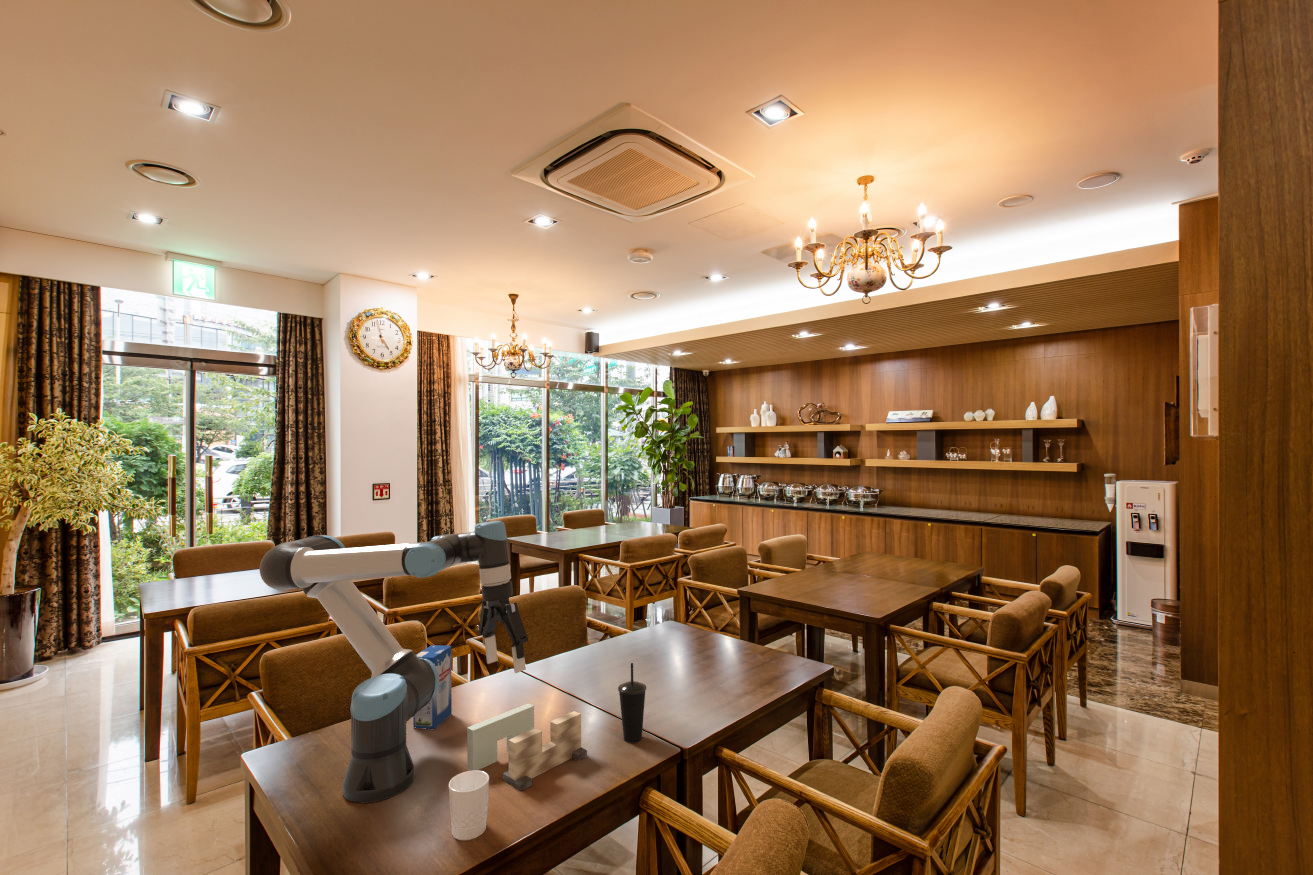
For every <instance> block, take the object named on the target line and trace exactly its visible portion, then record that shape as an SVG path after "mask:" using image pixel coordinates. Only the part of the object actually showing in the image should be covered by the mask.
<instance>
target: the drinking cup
mask: <svg viewBox="0 0 1313 875" xmlns="http://www.w3.org/2000/svg"><path fill="white" fill-rule="evenodd" d="M617 691H618V694H619V702H620V704H619V705H620V713H621V724H622V726H621V727H622V734H623V740H624V742H626V743H629V744H636V743H638V742H641V741H642V739H643V729H644V728H643V726H644V712H645V700H646V691H647V685H646V684H644V683H643V682H639V681H634V662H631V663H630V681H629V680H628V681H626V682H623V683H621V684H619V685H618V687H617Z"/></svg>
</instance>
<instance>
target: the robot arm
mask: <svg viewBox="0 0 1313 875" xmlns="http://www.w3.org/2000/svg"><path fill="white" fill-rule="evenodd" d="M471 562H478V569H479V570H478V571H479V579H480V584H481V596H482V600H481V611H480V619H479V624H478V625H479V627H478V634H479V635H482V638H484V649H485V656H486V664H488V665H489V664H492V663H495V662H497V661H498V660H499V659H498V648H497V641H496V633H495V629H496V626H497V623H498V621H499V622H500V624H502V625H503V626H504V628H505V630H506V633H507V634H508V637H509V638H510V641H511V643H512V644H511V646H510V647H511V653H512V654H511V655H512V661H513V662H512V663H513V670H514V671H513V672H514V673H515V674H517V673H520V672H522V671H526V669H527V668H526V659H525V648H524V644H525V643H527V642H529V637H528V635H527V632H526V629H525V625H524V624H523V620H522V618H521V615H520V612H519V609H518V608H519V607H518V603H517V602H513V603H511V602H510V597H512V596H513V595H514V591H513V590H514V588H513V582H512V581H511V579H512V572H511V565H510V556H509V546H508V535H507V530H506V524H505V523H504V522H503V521H502V520H491V521H484V522H483V521H482V522H480V523H479V522H478V523H476V524H475V525H474V530H473V531H469V532H459V533H452V534H451V533H449V534H448V533H445V534H442V535H436V536H433V537H431V539H430V541H423V542H420V541H419V542H413V543H412V542H411V543H409V542H408V543H398V544H397V543H396V544H385V545H384V544H382V545H371V546H370V545H369V546H360V547H359V546H357V547H346V546H345V545H344V544H343V543H342V542H341V540H340V539H338V538H336V537H334V536H332V535H331V536H330V535H325V534H324V535H322V534H321V535H312V536H307V537H305V538H301V539H298V540H293V541H286V542H282V543H279V544H277V545H275V546H273V547H271V548H270V549H268V551H266V553H265V554H263V556H262V559H261V561H260V564H259V574H260V575H259V576H260V577H261V580H262V582H263V583H265V585H266V586H268V587H269V588H271V589H274V590H277V591H289V590H296V589H301V590H302V592H303V593H304V594H305V596H306V597H307V598H314V599H317V600H318V602H319V603H320V605H322V607H323V608H324V609H325V611H326V612H327V614H328V615H329V616H330V618H331V620H333V622H334V623H335V624H336V626H337V627H338V629H340V631H341V633H342V634H343V635H344V636H345V638H346V639H347V640H348V642H349V643H350V644H351V645H352V648H353V649H354V650H355V652H357V654H358V655H359V657H360V658H361V659H362V661H363V662H364V663H365V665H366V666H367V668H368V669H369V670H370V672H371V677H370V678H367V679H365V680H364V681H362V682H360V683H359V684H358V685H357V686H356V687H355V689H354V690H353V691H352V695H351V703H350V710H349V711H350V726H351V727H350V730H351V732H350V738H351V739H350V742H351V743H350V744H351V746H350V747H351V748H350V750H351V756H350V760H349V761H348V762H349V763H348V764H347V768H346V771H345V774H344V778H343V782H342V796H343V795H344V796H343V797H344V799H346V798H347V799H348V800H347V799H346V800H347V801H349V800H350V801H349V802H352V801H354V802H353V803H357V802H364V804H367V802H368V803H374V802H379V801H383V800H386V799H389V798H392V797H394V796H397V795H398V794H400V793H402V792H403V791H405V790H406V789H408V788H409V787H410V785H411V784H413V782H414V780H415V766H414V765H415V764H414V762H413V759H412V757H411V754H410V751H409V748H408V745H407V723H408V722H409V721H410V720H411V718H412V719H413V716H414V715H415V714H416V713H417V712H418V711H420V710H421V709H422V708H423V707H425V706H426V705H427V704H428V703H429V702H430V701H431V699H432V698H433V697H434V695H435V694H436V692H437V690H438V686H439V673H438V670H437V668H436V666H435V665H434V664H433V663H432V662H431V661H430V660H428V659H423V658H418V657H417V656H416V655H417V654H415V652H414V651H413V649H406V648H403V647H402V646H401V645H400V643H399V642H398V640H397V639H396V638H395V636H394V635H393V634H392V633H391V631H390V630H389V628H388V627H387V626H386V624H385V623H384V622H383V620H382V619H381V618H380V617H379V616H378V614H377V612H376V611H375V610H374V609H373V608H372V606H371V605H370V603H369V602H368V601H367V599H366V597H364V596H363V594H362V593H361V591H360V590H359V589H358V587H357V586H356V585H355V583H354V582H353V581H354V580H368V579H377V578H378V579H379V578H391V577H394V578H395V577H405V576H414V577H415V578H419V579H423V578H428V577H432V576H435V575H437V574H438V573H439V572H443V571H444V570H446V569H448V568H450V567H453V566H455V565H457V564H462V563H463V564H464V563H471ZM352 580H353V581H352ZM413 779H414V780H413Z"/></svg>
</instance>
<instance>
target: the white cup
mask: <svg viewBox="0 0 1313 875" xmlns="http://www.w3.org/2000/svg"><path fill="white" fill-rule="evenodd" d="M489 786H490V775H489V774H488V773H487V772H486V771H483V770H472V771H470V770H467V771H463V772H460V773H458V774H456V775H455V776H453V777H451V779H450V781H449V782H448V796H449V797H448V799H449V811H450V813H449V814H450V815H449V816H450V822H451V823H450V824H451V835H452V836H453V838H454V839H455V840H459V841H470V840H474V839H477V838H478V837H480V836H481V835H483V833H484V832H485V831H486V829H487V817H488V811H489V810H488V809H489V808H488V807H489V793H490V792H489V790H490V787H489Z"/></svg>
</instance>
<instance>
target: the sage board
mask: <svg viewBox="0 0 1313 875" xmlns="http://www.w3.org/2000/svg"><path fill="white" fill-rule="evenodd" d="M534 728H535V705H533V704H531V703H525V704H523V705H520V706H518V707H515V708H513V709H509V710H508V711H505V712H503V713H500V714H498V715H495V716H493V717H490V718H487V719H485V720H482V721H480V722H478V723H475V724H472V725H470V726H467V727H466V729H467V731H466V732H467V733H466V734H467V735H466V736H467V740H466V741H467V746H466V747H467V748H466V750H467V752H466V753H467V754H466V756H467V771H472V770H478V771H481V770H482V769H484V768H486V767H488V766H490V765H493V764H495V763H497V762H498V741H501V740H502V739H505V738H506V752H507V753H509V741H508V740H509V739H512V738H514V737H516V736H519V735H521V734H523V733H525V732H528V731H530V730H532V729H534Z"/></svg>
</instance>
